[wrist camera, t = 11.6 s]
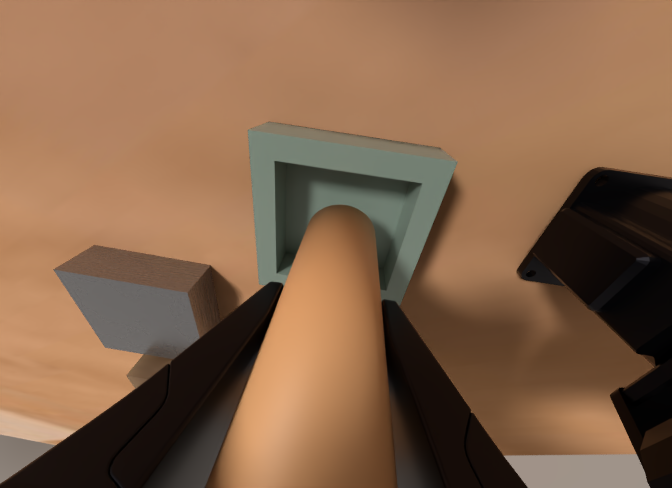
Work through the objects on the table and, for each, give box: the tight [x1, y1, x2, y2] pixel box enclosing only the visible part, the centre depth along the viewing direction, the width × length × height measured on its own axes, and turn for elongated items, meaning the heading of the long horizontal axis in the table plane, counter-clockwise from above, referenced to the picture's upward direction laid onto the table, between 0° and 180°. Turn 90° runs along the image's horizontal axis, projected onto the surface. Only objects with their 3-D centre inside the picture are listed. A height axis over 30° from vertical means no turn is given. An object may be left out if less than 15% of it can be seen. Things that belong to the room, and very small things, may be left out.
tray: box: [248, 122, 457, 306], centre depth 12 cm, size 8×8×2 cm
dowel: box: [205, 205, 398, 488], centre depth 7 cm, size 3×3×10 cm
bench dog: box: [127, 354, 173, 389], centre depth 20 cm, size 4×3×4 cm
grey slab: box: [53, 245, 220, 359], centre depth 18 cm, size 8×8×3 cm
